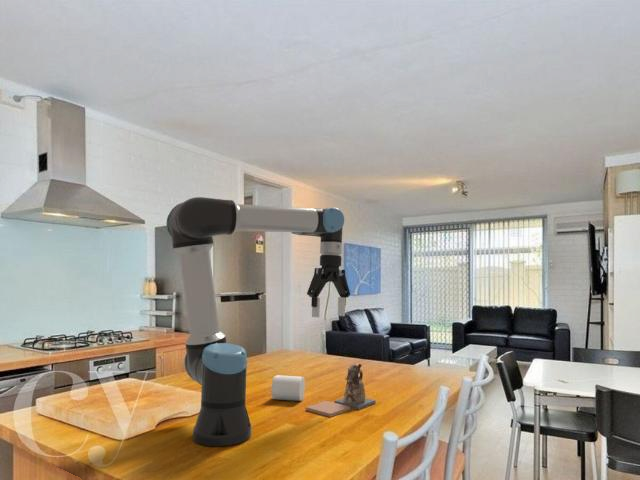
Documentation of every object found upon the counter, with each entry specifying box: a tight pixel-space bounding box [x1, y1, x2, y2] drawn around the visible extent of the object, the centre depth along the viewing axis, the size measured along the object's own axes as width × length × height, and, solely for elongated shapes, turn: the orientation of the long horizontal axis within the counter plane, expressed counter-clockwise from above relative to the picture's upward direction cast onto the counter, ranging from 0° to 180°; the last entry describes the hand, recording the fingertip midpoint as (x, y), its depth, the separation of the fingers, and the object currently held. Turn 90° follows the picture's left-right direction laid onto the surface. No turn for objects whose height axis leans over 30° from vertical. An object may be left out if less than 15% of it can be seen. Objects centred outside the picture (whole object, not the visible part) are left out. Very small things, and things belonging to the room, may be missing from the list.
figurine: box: [343, 363, 366, 403], centre depth 150 cm, size 7×7×12 cm
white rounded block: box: [270, 374, 306, 402], centre depth 156 cm, size 12×10×8 cm
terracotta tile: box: [305, 400, 351, 418], centre depth 142 cm, size 10×10×1 cm
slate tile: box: [333, 397, 377, 411], centre depth 150 cm, size 10×10×1 cm
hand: (328, 316), depth 153 cm, fingers open, 13 cm apart
